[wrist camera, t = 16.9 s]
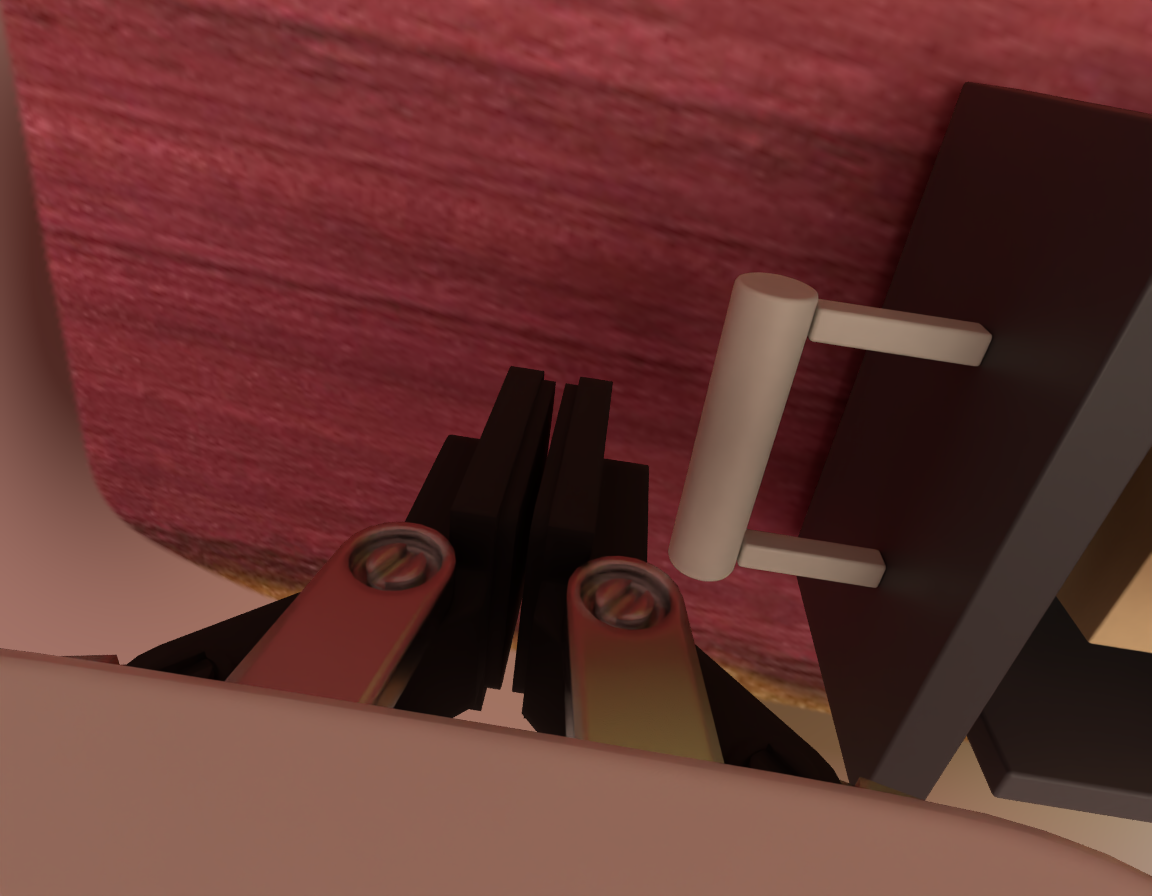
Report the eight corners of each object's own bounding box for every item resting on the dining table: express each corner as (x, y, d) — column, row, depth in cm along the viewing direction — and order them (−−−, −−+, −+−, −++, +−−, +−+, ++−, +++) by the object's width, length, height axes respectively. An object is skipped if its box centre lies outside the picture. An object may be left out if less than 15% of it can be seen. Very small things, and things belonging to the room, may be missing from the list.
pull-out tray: (643, 532, 21) (639, 773, 14) (750, 50, 14) (833, 75, 8) (1256, 629, 21) (1545, 921, 14) (1645, 181, 14) (2529, 326, 7)
